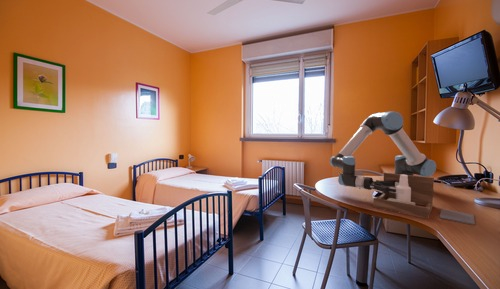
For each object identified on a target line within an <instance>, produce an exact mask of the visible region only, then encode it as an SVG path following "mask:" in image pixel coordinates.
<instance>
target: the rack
mask: <svg viewBox="0 0 500 289" xmlns="http://www.w3.org/2000/svg"><path fill="white" fill-rule="evenodd" d="M400 175H401V174H395V172H394V173H392V172H383V181H395V182H398V183H399V180H400ZM434 178H435V177H431V176H429V177H426V176H420V175H413V176H412V175H408V184H409V187H410V188H411V202H409V201H403V200H397V199H396V193H392V192H389V193H385V192H382V194H380V195H379V196H378V197H373V198H372V199H373V200H372V201H373V202H372V204H373V205H372V207H373V208H375V207H376V209H379V208H380V209H381V210H384V209H385V211H390V212H395V213H398V212H400V213H399V214H403V213H404V214H405V215H409V216H413V217H418V218H422V219H423V218H424V219H427V220H428V219H429V217H430V214H431V212H432V208H433V207H434V186H435V185H434V183H435V182H434V181H435V180H434ZM386 187H394V188H396V187H395V186H386ZM421 205H422V206H421Z"/></svg>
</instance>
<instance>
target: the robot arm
mask: <svg viewBox="0 0 500 289" xmlns="http://www.w3.org/2000/svg"><path fill="white" fill-rule="evenodd" d="M377 130H381V131H382V132H383V133H384V135H386V136H389V137H390V139H391V140H392V141H393V143H394V144H395V145H396V147H397V148H398V149H399V151H400V152H401V154H402V155H396V156H395V157H394V174H404V175H412V176H421V177H432V175H434V174H435V172H436V170H437V164H436V163H437V162H435V160H432V159H429V158H428V157H427V156H426V155H425V154H424V153H422V152H420V151H419V149H418V148H417V146H416V145H415V144H414V141H412V140H411V138H410V137H409V136H408V134H407V133H406V132H405V130H404V117H403V115H402V114H401V113H399V112H397V111H392V110H391V111H389V110H388V111H383V112H374V113H373V114H370V115H369V116H368V117H366V118H365V120H364V121H363V122H361V124H360V125H359V128H358V130H357V131H356V132H355V133H354V134H353V136H351V137H350V139H349V140H348V141H347V142H346V144H345V145H344V146H343V147H342V148H341V149H340V151H339V152H338V153H337V154H336V155H334V156H333V155H332V156H331V157H330V159H329V164H330V165H331V166H332V167H334V168H337V169H341V170H342V173H339V174H338V178H337V181H338V183H339V185H340V186H344V187H352V188H356V189H357V188H358V189H359V190H361V189H365V190H368V191H371V190H375V191H378V192H382V193H383V192H385V193H389V192H392V193H399V194H404V189H401V188H394V187H386V186H395V187H396V186H398V185H399V183H398V182H395V181H384V180H379V179H376V180H374V179H373V177H370V176H363V175H362V176H361V175H356V158H355V156H352V155H353V154H354V153H355V152H356V151H357V149H358V148H359V147H360V146H361V145H362V143H363V142H364V141H365V140H366V138H368V136H369V135H373V133H374V132H375V131H377ZM408 186H409V184H408Z"/></svg>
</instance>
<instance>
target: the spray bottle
mask: <svg viewBox="0 0 500 289" xmlns="http://www.w3.org/2000/svg"><path fill="white" fill-rule="evenodd" d="M396 188H401V189H404V194H399V193H396V199H397V200H403V201H409V202H411V188H410V187H409V186H408V175H404V174H401V175H400V180H399V185H398V186H396Z"/></svg>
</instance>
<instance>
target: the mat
mask: <svg viewBox="0 0 500 289" xmlns="http://www.w3.org/2000/svg"><path fill="white" fill-rule="evenodd" d="M439 219H442V220H448V221H451V222H452V221H453V222H457V223H462V224H467V225H471V224H472V226H476V223H475V222H476V221H475V214H472V213H465V212H460V211H455V210H451V209H443V208H442V209H440V214H439Z"/></svg>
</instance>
